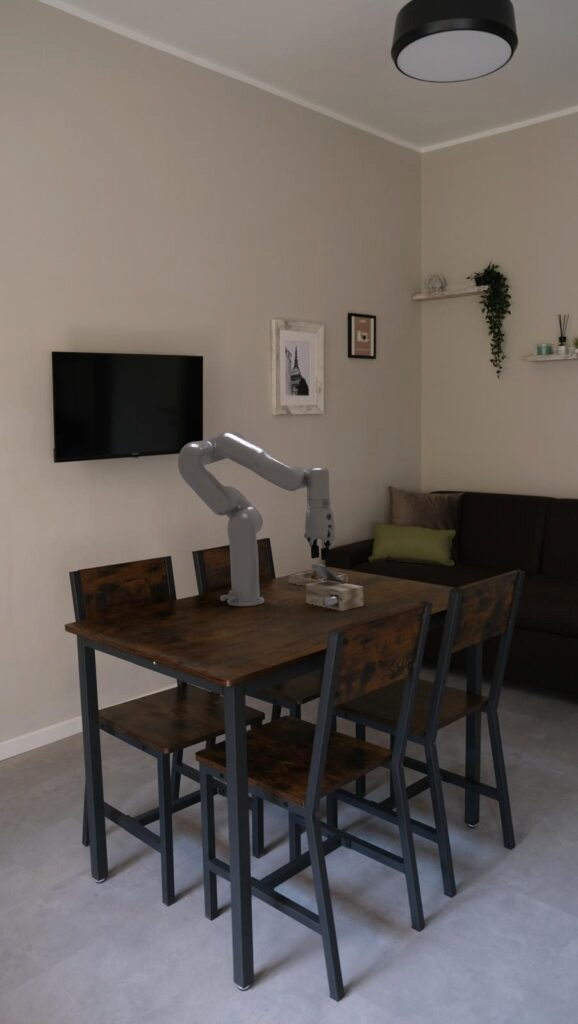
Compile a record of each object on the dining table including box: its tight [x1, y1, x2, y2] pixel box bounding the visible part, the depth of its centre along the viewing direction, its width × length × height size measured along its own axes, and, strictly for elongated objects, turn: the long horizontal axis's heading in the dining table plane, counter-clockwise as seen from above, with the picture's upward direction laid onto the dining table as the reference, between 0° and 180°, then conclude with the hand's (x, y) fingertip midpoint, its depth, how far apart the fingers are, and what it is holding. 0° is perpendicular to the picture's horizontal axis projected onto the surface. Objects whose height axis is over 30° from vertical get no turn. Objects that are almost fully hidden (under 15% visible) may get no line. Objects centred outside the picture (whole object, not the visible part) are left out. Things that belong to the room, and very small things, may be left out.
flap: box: [311, 564, 342, 583], centre depth 281 cm, size 9×7×1 cm
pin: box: [323, 595, 339, 608], centre depth 274 cm, size 15×4×4 cm, turn 132°
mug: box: [311, 563, 336, 580], centre depth 317 cm, size 7×10×10 cm
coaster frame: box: [287, 570, 349, 587], centre depth 316 cm, size 16×15×3 cm
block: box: [305, 579, 364, 612], centre depth 278 cm, size 10×17×8 cm, turn 42°
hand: (320, 558), depth 278 cm, fingers open, 4 cm apart
